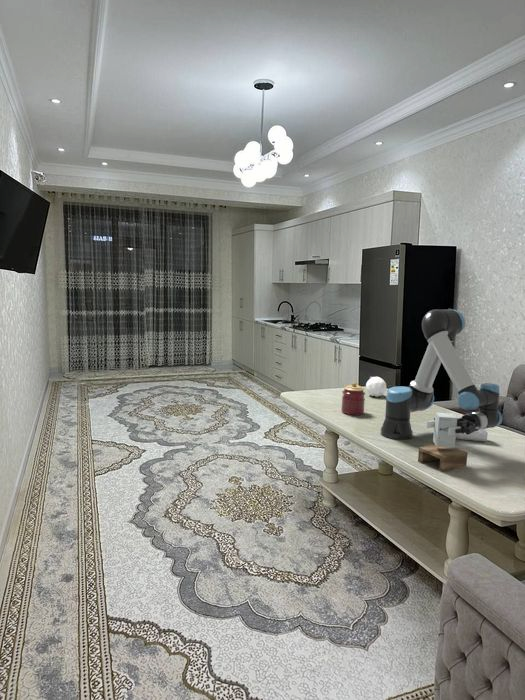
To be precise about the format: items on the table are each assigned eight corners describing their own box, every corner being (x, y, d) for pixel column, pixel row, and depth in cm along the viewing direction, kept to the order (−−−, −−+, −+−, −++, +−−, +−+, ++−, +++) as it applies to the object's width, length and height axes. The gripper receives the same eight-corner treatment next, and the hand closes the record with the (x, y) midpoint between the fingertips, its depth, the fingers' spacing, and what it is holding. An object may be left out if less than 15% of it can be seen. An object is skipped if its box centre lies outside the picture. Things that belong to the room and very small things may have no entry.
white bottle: (443, 435, 242) (444, 419, 241) (483, 438, 237) (485, 423, 236) (445, 439, 234) (446, 423, 233) (487, 443, 230) (488, 427, 229)
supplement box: (436, 446, 197) (438, 416, 196) (432, 441, 205) (435, 411, 203) (455, 448, 196) (457, 417, 195) (451, 442, 204) (453, 413, 202)
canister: (362, 410, 285) (364, 380, 282) (365, 416, 272) (367, 385, 270) (340, 409, 286) (342, 379, 284) (341, 414, 273) (343, 384, 271)
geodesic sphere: (358, 388, 319) (371, 373, 315) (362, 384, 332) (375, 369, 327) (374, 403, 316) (389, 388, 311) (378, 398, 329) (392, 384, 324)
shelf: (417, 461, 204) (419, 447, 203) (440, 456, 211) (441, 442, 210) (443, 471, 193) (444, 457, 192) (466, 466, 200) (467, 452, 199)
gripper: (496, 437, 199) (460, 445, 188) (450, 423, 219) (416, 429, 207) (498, 419, 198) (462, 426, 187) (452, 407, 218) (417, 412, 206)
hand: (438, 428), depth 197 cm, fingers closed on supplement box, 10 cm apart
